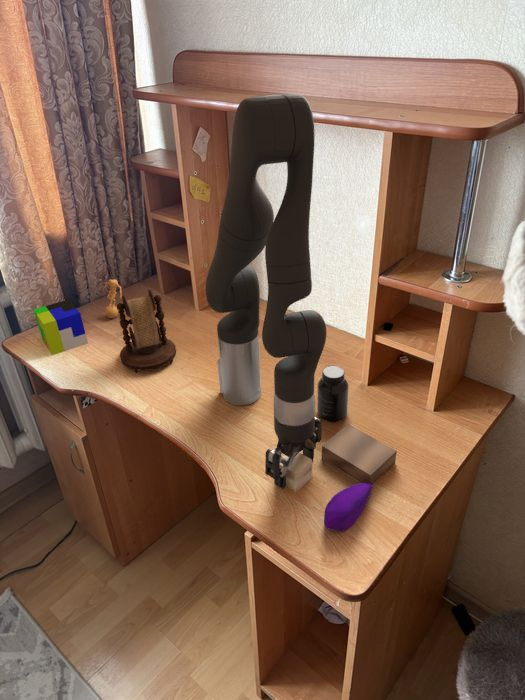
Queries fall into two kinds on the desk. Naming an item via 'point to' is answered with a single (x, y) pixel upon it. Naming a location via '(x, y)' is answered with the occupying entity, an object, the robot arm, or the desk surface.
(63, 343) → the puzzle toy
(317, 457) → the desk surface
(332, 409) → the supplement bottle
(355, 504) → the purple teardrop shape
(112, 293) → the figurine
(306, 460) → the oak cube
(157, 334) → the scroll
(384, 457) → the walnut slab
